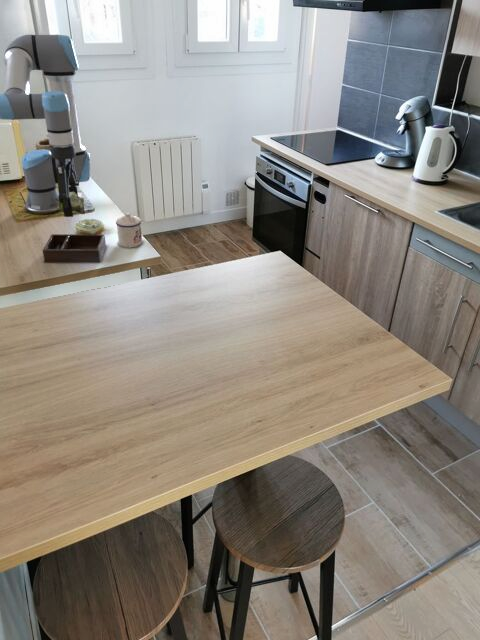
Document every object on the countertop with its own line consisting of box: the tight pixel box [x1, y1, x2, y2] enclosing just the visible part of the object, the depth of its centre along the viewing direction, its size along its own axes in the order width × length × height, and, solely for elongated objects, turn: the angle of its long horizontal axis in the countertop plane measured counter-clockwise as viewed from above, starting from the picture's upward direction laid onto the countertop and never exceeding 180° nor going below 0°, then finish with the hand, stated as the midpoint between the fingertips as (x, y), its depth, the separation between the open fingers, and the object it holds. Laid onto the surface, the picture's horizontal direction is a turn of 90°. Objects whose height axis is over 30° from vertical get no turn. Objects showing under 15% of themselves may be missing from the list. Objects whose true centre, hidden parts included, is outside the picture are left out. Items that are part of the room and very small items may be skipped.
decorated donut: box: [74, 218, 105, 235], centre depth 200 cm, size 10×11×4 cm
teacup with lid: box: [115, 212, 143, 248], centre depth 192 cm, size 12×9×12 cm
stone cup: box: [35, 137, 51, 152], centre depth 257 cm, size 15×12×15 cm
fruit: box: [56, 192, 86, 215], centre depth 176 cm, size 9×9×8 cm
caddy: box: [42, 233, 107, 263], centre depth 184 cm, size 13×19×5 cm
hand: (72, 210), depth 178 cm, fingers closed on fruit, 10 cm apart
